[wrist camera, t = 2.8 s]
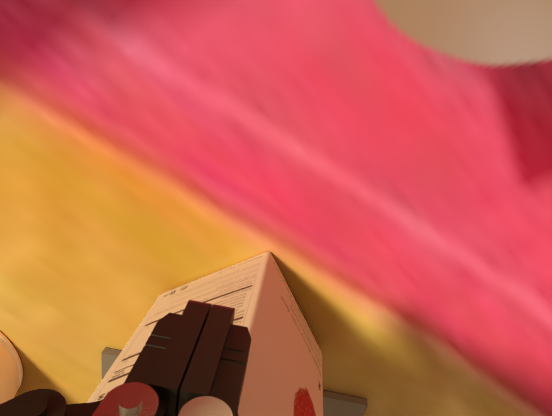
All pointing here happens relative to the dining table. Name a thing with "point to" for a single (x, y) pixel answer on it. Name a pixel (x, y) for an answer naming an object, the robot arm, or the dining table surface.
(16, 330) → the dining table surface
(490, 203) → the dining table surface
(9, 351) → the white bottle
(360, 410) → the mat
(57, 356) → the dining table surface
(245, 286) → the supplement box
